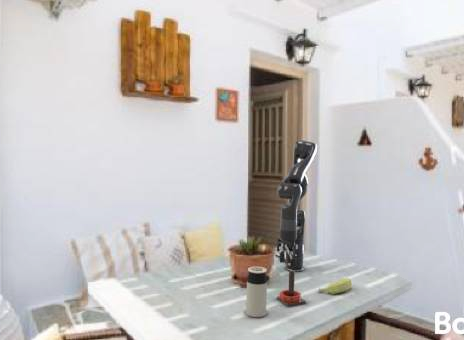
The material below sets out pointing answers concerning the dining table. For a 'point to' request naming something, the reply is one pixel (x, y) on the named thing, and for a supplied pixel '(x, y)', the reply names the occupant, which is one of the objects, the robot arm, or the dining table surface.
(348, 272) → the dining table surface
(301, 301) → the peg stand
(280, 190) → the robot arm
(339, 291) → the banana
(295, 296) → the ring
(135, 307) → the dining table surface
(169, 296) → the dining table surface
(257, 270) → the travel mug
